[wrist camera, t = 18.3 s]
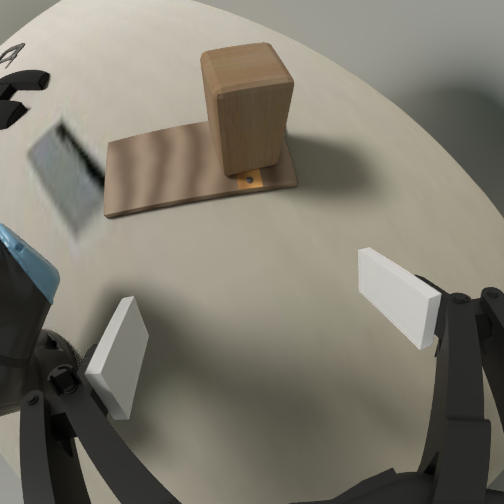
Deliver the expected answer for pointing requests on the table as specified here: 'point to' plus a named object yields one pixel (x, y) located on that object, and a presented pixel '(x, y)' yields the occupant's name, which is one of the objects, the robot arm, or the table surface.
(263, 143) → the wooden block
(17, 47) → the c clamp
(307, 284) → the table surface
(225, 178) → the floor board
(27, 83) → the black notched oval shell
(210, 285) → the table surface
